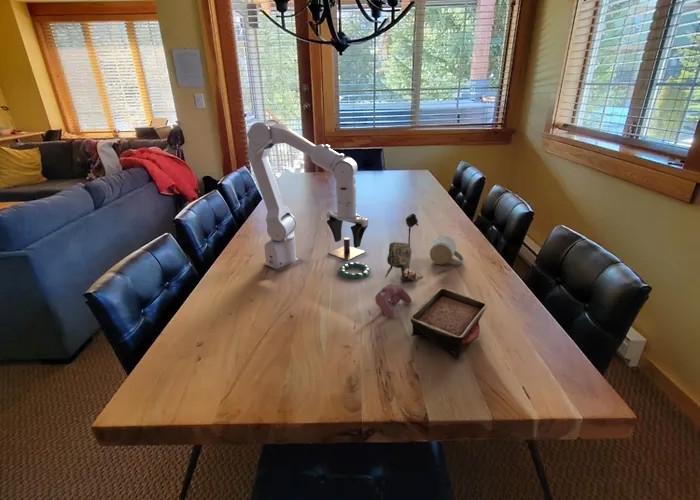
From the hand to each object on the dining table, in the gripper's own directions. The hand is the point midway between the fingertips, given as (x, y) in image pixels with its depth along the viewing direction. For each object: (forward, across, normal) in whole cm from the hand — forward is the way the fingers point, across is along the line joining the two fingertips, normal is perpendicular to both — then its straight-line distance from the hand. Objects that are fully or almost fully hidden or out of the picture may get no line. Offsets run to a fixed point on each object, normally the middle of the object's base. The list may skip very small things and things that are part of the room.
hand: (347, 243), depth 114 cm
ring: (+8, -4, +2) cm, 9 cm away
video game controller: (+9, -24, +10) cm, 27 cm away
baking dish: (+9, -40, +13) cm, 43 cm away
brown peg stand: (+8, +7, -8) cm, 13 cm away
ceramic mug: (+9, -22, -24) cm, 33 cm away
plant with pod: (+9, -18, -4) cm, 21 cm away
